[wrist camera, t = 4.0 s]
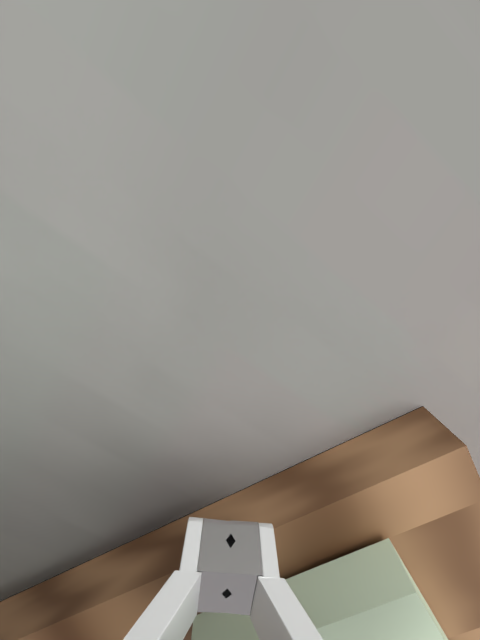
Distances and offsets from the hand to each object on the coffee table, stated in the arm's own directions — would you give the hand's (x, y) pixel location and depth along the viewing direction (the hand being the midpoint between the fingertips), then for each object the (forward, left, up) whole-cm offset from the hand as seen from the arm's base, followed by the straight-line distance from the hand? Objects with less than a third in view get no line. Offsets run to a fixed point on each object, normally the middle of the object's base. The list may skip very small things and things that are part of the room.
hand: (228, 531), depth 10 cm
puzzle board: (-5, -9, -4) cm, 11 cm away
